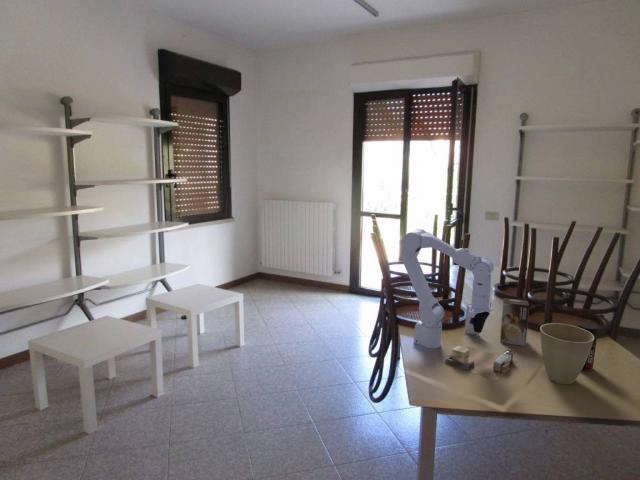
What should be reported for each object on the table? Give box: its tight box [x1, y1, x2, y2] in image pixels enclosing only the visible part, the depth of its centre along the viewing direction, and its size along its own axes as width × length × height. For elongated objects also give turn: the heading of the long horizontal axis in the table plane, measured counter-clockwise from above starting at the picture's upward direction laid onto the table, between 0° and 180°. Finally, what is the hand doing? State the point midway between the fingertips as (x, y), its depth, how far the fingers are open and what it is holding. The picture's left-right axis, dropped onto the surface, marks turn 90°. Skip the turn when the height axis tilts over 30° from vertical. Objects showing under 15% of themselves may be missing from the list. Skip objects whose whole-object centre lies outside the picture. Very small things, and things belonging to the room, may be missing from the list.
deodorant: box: [576, 321, 599, 372], centre depth 147 cm, size 6×6×15 cm
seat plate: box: [441, 344, 518, 382], centre depth 149 cm, size 19×18×4 cm
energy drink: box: [464, 303, 480, 338], centre depth 174 cm, size 5×5×12 cm
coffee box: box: [499, 297, 530, 347], centre depth 167 cm, size 9×6×16 cm
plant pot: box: [539, 322, 594, 385], centre depth 139 cm, size 15×15×16 cm
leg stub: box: [451, 345, 469, 364], centre depth 148 cm, size 4×4×5 cm
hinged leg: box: [493, 349, 514, 372], centre depth 146 cm, size 11×3×3 cm, turn 137°
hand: (477, 331), depth 153 cm, fingers closed
